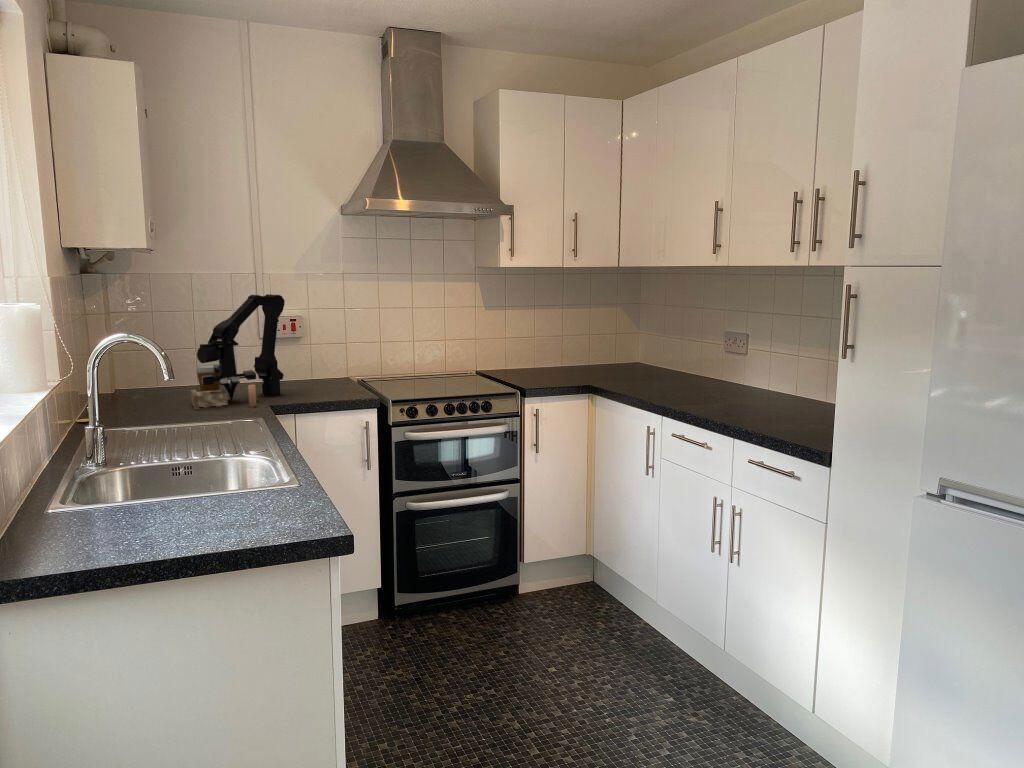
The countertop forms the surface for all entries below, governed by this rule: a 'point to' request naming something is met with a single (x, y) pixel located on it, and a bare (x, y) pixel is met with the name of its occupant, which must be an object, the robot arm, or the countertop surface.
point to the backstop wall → (195, 399)
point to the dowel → (252, 395)
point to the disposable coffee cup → (207, 370)
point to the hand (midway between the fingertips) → (231, 400)
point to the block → (212, 398)
